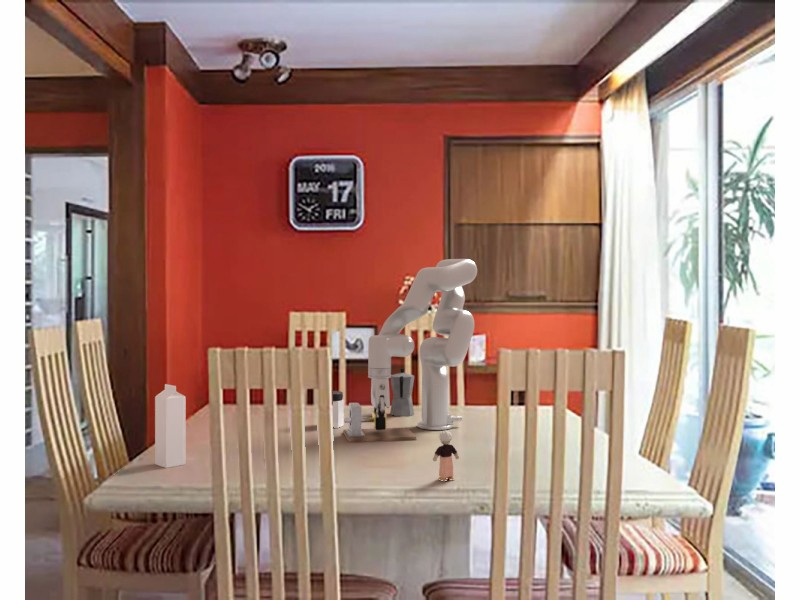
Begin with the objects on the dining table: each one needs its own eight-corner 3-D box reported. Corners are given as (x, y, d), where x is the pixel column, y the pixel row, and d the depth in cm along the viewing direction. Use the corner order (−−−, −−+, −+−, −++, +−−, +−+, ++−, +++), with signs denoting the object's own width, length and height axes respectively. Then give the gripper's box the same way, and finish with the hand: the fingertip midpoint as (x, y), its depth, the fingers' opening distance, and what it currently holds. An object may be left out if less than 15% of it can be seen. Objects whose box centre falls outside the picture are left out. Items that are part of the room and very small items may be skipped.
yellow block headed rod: (383, 425, 244) (384, 410, 244) (386, 427, 239) (386, 413, 239) (342, 426, 241) (342, 411, 241) (344, 429, 237) (344, 414, 236)
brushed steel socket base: (360, 430, 245) (360, 402, 245) (364, 436, 235) (364, 407, 235) (345, 431, 244) (345, 402, 244) (349, 437, 234) (349, 407, 234)
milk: (174, 460, 206) (175, 382, 206) (185, 464, 202) (186, 385, 201) (154, 464, 201) (154, 384, 201) (165, 468, 197) (166, 386, 197)
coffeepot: (390, 411, 288) (391, 365, 288) (414, 411, 288) (415, 366, 287) (388, 418, 273) (388, 370, 272) (413, 418, 272) (414, 370, 272)
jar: (347, 426, 256) (348, 392, 256) (328, 429, 251) (328, 394, 251) (333, 423, 263) (333, 389, 263) (314, 425, 258) (314, 391, 258)
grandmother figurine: (450, 476, 192) (450, 427, 191) (460, 479, 189) (461, 430, 189) (428, 481, 187) (429, 431, 186) (439, 484, 184) (439, 434, 184)
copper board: (407, 430, 251) (407, 427, 251) (416, 439, 236) (416, 436, 236) (343, 432, 246) (343, 429, 246) (348, 442, 232) (348, 438, 232)
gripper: (395, 376, 233) (395, 432, 234) (386, 369, 250) (385, 422, 250) (372, 376, 232) (371, 433, 232) (364, 370, 248) (364, 423, 249)
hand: (379, 427), depth 241 cm, fingers closed on yellow block headed rod, 4 cm apart
